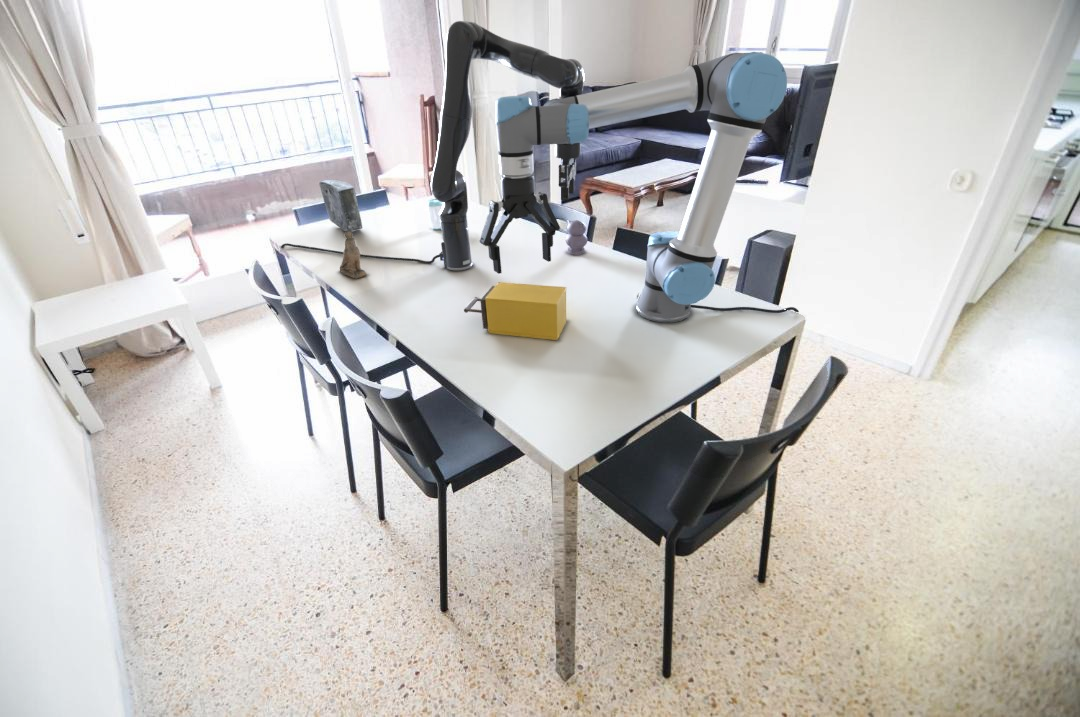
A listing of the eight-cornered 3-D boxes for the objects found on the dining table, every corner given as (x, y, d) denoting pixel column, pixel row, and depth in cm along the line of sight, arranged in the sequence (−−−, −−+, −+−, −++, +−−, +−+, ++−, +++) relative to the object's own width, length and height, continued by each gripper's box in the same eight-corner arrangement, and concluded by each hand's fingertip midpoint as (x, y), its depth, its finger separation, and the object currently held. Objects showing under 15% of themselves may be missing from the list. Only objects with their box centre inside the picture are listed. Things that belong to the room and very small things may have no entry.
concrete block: (367, 234, 218) (357, 187, 208) (347, 238, 214) (336, 190, 203) (348, 221, 237) (338, 177, 226) (329, 225, 232) (318, 180, 222)
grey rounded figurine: (591, 251, 189) (592, 220, 183) (578, 257, 185) (578, 225, 178) (574, 246, 195) (574, 216, 188) (561, 252, 190) (560, 221, 183)
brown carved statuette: (368, 281, 178) (362, 235, 166) (353, 285, 175) (347, 238, 163) (352, 266, 184) (346, 221, 172) (338, 270, 181) (331, 224, 169)
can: (445, 229, 220) (441, 202, 214) (429, 230, 220) (425, 202, 214) (447, 224, 226) (444, 198, 220) (432, 225, 226) (428, 198, 220)
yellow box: (488, 333, 137) (484, 298, 131) (501, 315, 146) (498, 282, 140) (557, 340, 132) (556, 304, 126) (566, 321, 141) (566, 287, 135)
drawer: (464, 326, 138) (460, 298, 134) (477, 311, 146) (474, 284, 142) (547, 335, 133) (546, 305, 128) (555, 318, 141) (555, 290, 136)
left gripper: (560, 135, 150) (560, 190, 159) (549, 143, 139) (550, 202, 147) (584, 136, 149) (583, 191, 157) (575, 143, 137) (575, 203, 145)
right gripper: (471, 186, 102) (482, 282, 113) (573, 169, 112) (574, 259, 123) (458, 180, 108) (469, 272, 119) (556, 165, 118) (558, 251, 129)
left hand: (567, 196), depth 152 cm, fingers open, 8 cm apart
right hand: (522, 265), depth 121 cm, fingers open, 13 cm apart
